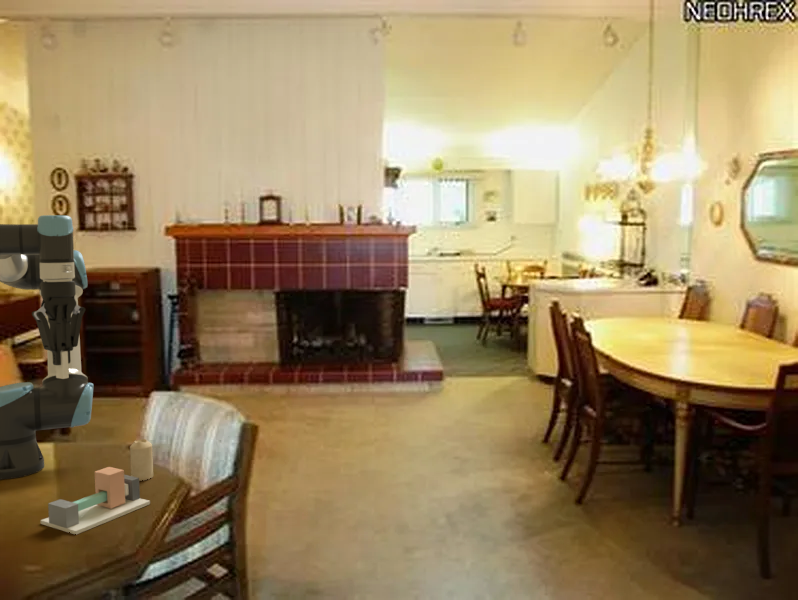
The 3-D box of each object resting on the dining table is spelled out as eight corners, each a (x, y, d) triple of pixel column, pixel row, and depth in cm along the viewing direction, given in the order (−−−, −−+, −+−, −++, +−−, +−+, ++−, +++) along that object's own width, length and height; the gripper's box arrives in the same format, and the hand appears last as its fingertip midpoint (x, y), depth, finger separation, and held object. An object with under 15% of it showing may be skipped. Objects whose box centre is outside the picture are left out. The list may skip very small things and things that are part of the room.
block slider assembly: (40, 523, 160) (39, 498, 159) (115, 495, 177) (115, 472, 177) (75, 534, 154) (74, 508, 153) (150, 504, 171) (149, 480, 171)
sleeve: (95, 504, 168) (94, 471, 168) (110, 499, 172) (109, 466, 171) (110, 508, 166) (109, 475, 165) (125, 502, 169) (124, 470, 168)
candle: (148, 481, 187) (147, 443, 186) (127, 481, 187) (126, 443, 187) (156, 474, 193) (155, 437, 192) (135, 474, 193) (134, 437, 192)
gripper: (42, 282, 165) (47, 384, 167) (91, 279, 176) (95, 374, 178) (22, 281, 168) (27, 381, 170) (71, 278, 180) (76, 371, 182)
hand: (62, 377), depth 174 cm, fingers closed
